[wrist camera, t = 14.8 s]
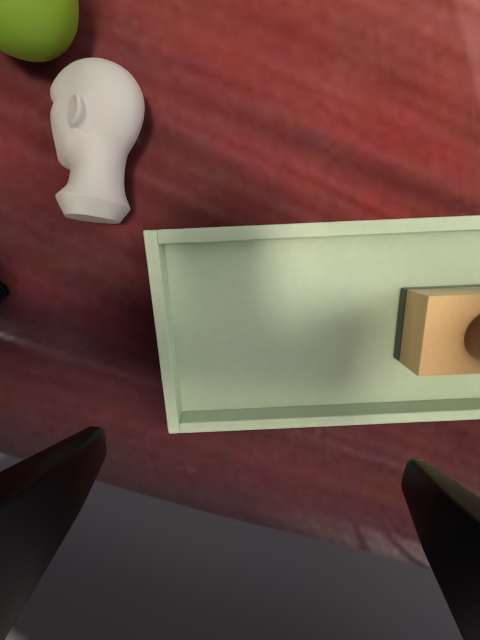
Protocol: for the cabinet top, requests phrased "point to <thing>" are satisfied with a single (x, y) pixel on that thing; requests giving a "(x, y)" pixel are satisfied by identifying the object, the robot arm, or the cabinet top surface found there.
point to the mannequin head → (95, 136)
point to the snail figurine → (37, 28)
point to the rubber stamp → (439, 330)
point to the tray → (302, 322)
